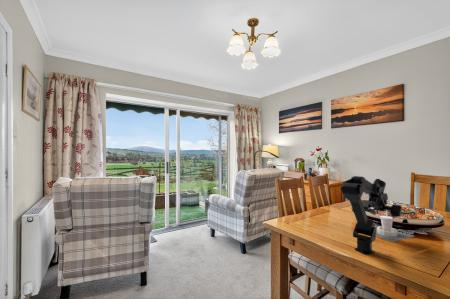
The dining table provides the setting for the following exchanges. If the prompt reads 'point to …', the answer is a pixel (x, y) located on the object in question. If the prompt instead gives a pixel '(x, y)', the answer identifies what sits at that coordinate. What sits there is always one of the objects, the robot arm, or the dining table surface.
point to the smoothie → (386, 222)
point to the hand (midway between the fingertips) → (384, 216)
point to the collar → (386, 233)
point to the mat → (393, 239)
